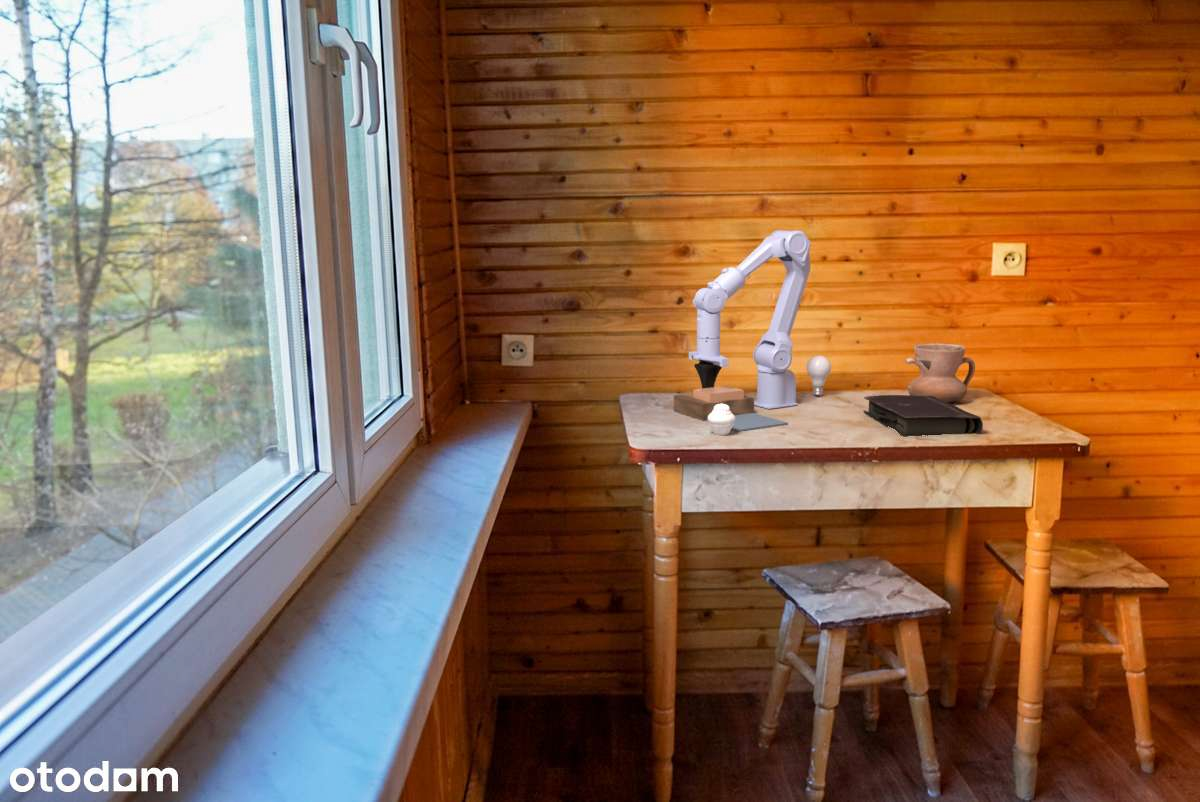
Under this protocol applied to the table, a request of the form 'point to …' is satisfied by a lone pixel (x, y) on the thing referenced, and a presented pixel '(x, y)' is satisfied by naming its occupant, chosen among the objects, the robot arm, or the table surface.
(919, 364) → the ceramic jug
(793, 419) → the table surface
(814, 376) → the lightbulb
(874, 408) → the diary
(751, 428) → the mat
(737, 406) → the board
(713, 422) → the muffin
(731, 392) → the block
